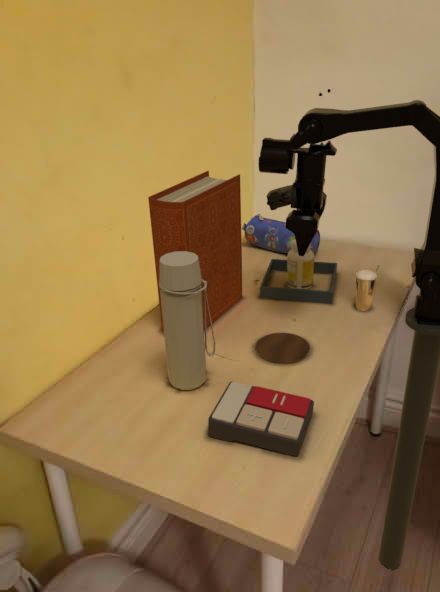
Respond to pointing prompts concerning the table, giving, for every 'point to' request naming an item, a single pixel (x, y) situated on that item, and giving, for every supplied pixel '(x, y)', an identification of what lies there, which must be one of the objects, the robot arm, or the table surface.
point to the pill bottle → (300, 268)
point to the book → (202, 235)
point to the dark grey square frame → (298, 293)
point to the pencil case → (273, 235)
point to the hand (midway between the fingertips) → (304, 247)
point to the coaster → (282, 348)
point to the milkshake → (365, 288)
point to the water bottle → (184, 319)
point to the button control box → (261, 418)
